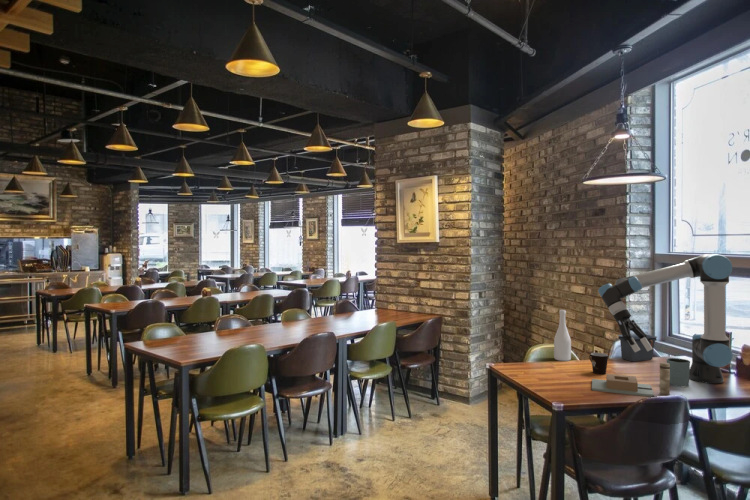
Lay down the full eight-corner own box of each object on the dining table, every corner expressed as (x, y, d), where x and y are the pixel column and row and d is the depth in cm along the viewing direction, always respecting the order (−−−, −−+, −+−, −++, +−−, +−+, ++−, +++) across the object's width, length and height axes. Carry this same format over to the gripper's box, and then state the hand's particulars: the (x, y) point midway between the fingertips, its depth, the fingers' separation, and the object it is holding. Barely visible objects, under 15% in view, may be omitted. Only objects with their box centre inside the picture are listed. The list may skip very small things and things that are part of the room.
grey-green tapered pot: (678, 387, 240) (678, 363, 240) (661, 382, 250) (661, 358, 250) (695, 386, 243) (695, 361, 243) (677, 380, 253) (677, 357, 253)
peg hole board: (650, 386, 242) (650, 376, 242) (654, 397, 226) (654, 386, 225) (592, 380, 253) (592, 371, 253) (591, 390, 236) (591, 379, 236)
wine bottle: (571, 361, 294) (571, 311, 293) (554, 360, 297) (554, 310, 296) (570, 358, 303) (570, 309, 302) (553, 357, 306) (554, 308, 305)
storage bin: (640, 355, 310) (640, 332, 310) (663, 360, 296) (663, 337, 295) (614, 358, 302) (615, 335, 302) (636, 364, 288) (636, 339, 288)
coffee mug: (610, 375, 263) (610, 356, 263) (592, 374, 265) (592, 355, 265) (604, 369, 274) (604, 351, 274) (587, 369, 276) (587, 351, 276)
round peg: (669, 392, 232) (669, 363, 232) (670, 395, 228) (670, 365, 228) (659, 391, 233) (659, 362, 233) (660, 394, 230) (660, 364, 230)
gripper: (625, 316, 261) (648, 353, 250) (601, 315, 246) (625, 355, 235) (637, 309, 257) (661, 346, 246) (614, 308, 241) (639, 347, 231)
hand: (644, 350), depth 240 cm, fingers open, 13 cm apart
